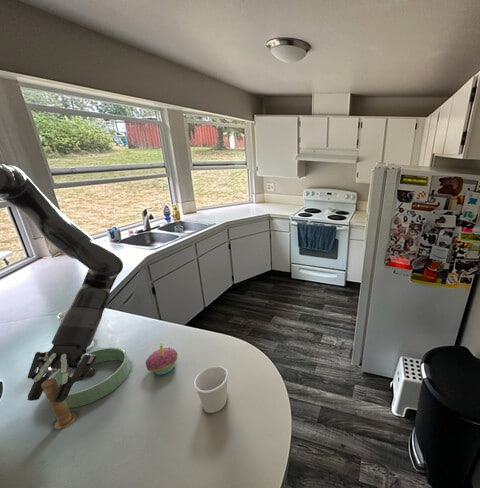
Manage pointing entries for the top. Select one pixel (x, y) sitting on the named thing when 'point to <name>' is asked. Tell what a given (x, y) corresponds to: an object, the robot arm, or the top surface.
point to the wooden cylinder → (57, 404)
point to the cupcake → (161, 360)
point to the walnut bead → (91, 372)
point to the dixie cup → (212, 388)
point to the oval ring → (102, 387)
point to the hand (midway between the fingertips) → (45, 400)
